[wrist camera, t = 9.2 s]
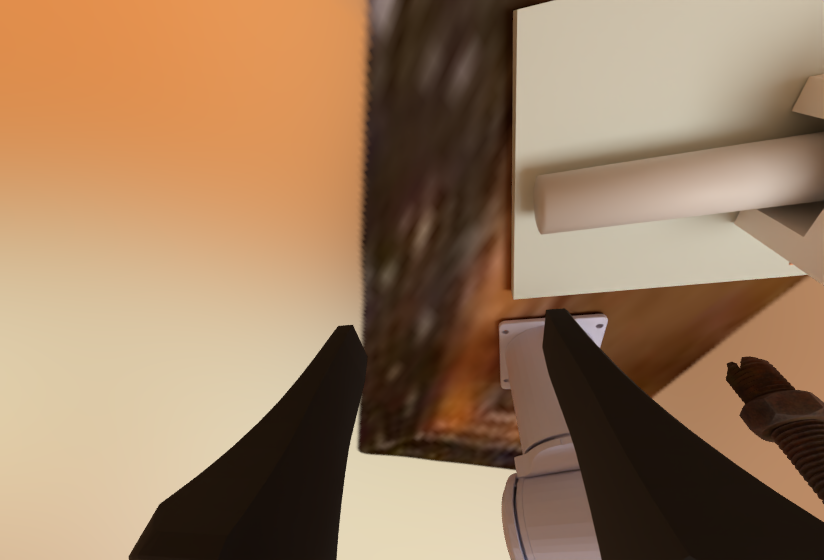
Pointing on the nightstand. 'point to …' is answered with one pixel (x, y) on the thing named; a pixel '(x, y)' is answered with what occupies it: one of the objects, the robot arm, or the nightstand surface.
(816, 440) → the bolt
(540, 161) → the pipe clamp
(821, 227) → the sleeve
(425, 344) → the nightstand surface
